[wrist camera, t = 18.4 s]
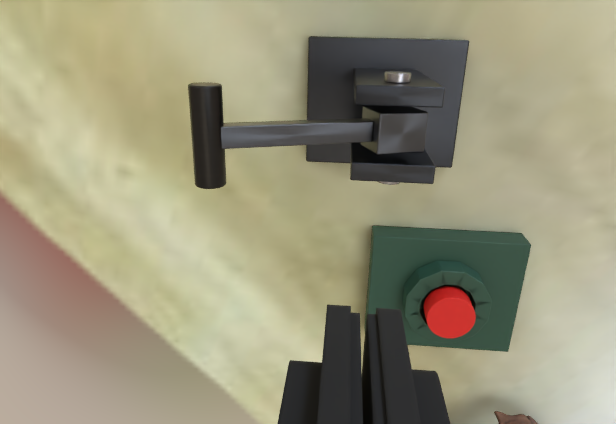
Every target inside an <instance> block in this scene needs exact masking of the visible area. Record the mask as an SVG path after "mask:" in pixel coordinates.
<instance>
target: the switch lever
mask: <svg viewBox="0 0 616 424" xmlns="http://www.w3.org/2000/svg"><path fill="white" fill-rule="evenodd" d="M188 90H189V105H190V119H191V133H192V147H193V161H194V175H195V185H196V186H197V187H199V188H203V189H215V188H220V187H223V186H224V185H225V184H226V168H225V149H230V148H251V147H272V146H294V145H315V144H336V143H358V142H361V145H362V146H364V147H366V148H367V149H369V150H370V151H372V152H374V153H375V154H377V155H382V154H401V153H419V152H424V145H425V137H426V128H427V119H428V112H426V111H423V110H420V109H417V108H414V107H405V106H364V107H363V113H362V118H361V119H330V120H299V121H268V122H237V123H223V102H222V85H221V84H218V83H192V84H189V85H188Z"/></svg>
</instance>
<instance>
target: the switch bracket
mask: <svg viewBox="0 0 616 424" xmlns="http://www.w3.org/2000/svg"><path fill="white" fill-rule="evenodd" d="M468 46H469V41H468V40H443V39H401V38H359V37H317V36H311V37H309V49H308V99H307V120H330V119H361V118H362V113H363V107H364V106H405V107H414V108H417V109H420V110H423V111H426V112H428V119H427V128H426V137H425V145H424V152H419V153H401V154H382V155H377V154H375V153H374V152H372V151H370V150H369V149H367V148H366V147H364V146H362V145H361V142H358V143H336V144H315V145H307V149H306V161H310V162H333V163H351V168H350V179H351V180H360V181H377V182H379V183H382V184H389V185H393V184H398V183H400V182H404V183H425V184H433V182H434V174H435V167H449V168H451V167H452V162H453V155H454V148H455V140H456V133H457V126H458V119H459V111H460V104H461V97H462V90H463V82H464V75H465V68H466V61H467V54H468Z"/></svg>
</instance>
